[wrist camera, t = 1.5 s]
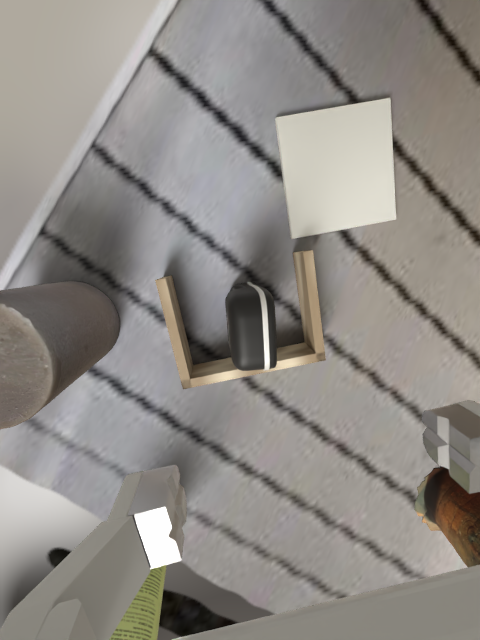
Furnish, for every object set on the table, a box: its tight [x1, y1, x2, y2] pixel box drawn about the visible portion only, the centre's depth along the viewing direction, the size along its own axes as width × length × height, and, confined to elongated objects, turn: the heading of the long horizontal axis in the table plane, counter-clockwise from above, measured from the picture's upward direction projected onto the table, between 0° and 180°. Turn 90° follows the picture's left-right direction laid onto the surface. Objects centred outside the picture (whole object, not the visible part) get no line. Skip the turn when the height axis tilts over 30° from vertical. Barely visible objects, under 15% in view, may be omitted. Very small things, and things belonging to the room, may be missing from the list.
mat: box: [275, 98, 396, 239], centre depth 30 cm, size 12×12×1 cm
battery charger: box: [225, 282, 277, 371], centre depth 27 cm, size 7×4×11 cm, turn 4°
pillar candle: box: [0, 281, 120, 429], centre depth 24 cm, size 10×10×15 cm
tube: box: [109, 565, 166, 640], centre depth 29 cm, size 6×5×20 cm
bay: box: [155, 250, 326, 389], centre depth 31 cm, size 16×12×4 cm
